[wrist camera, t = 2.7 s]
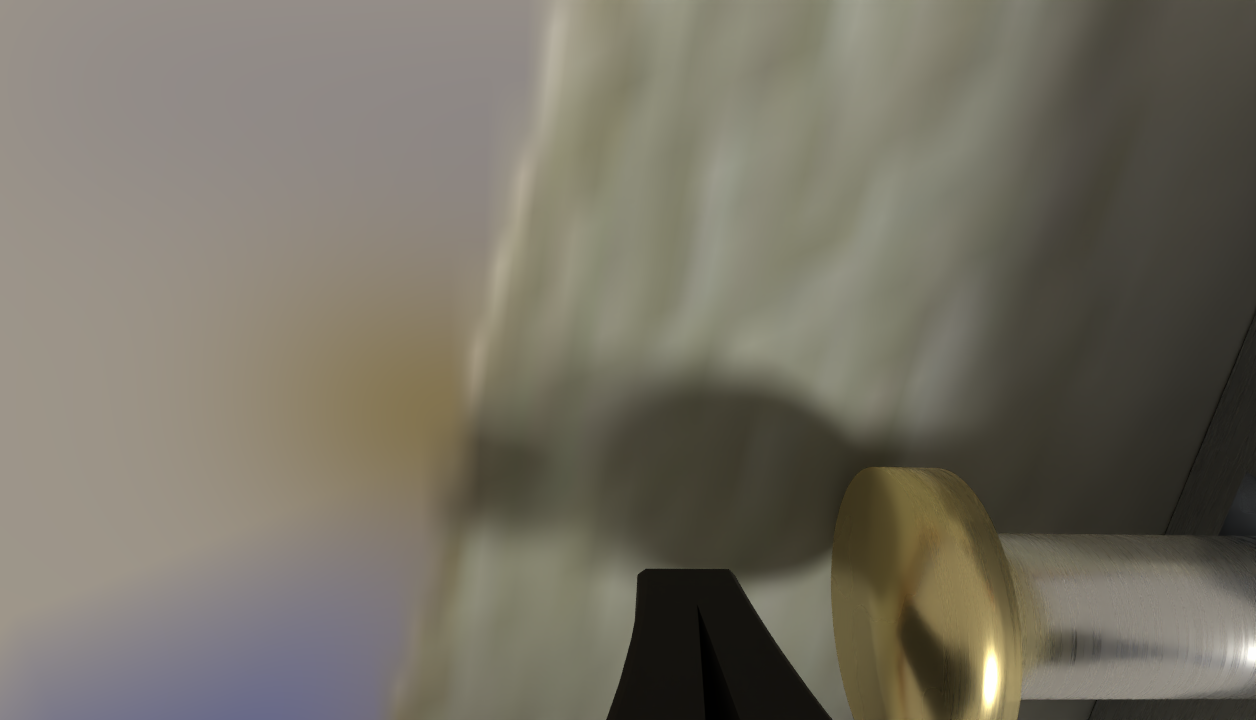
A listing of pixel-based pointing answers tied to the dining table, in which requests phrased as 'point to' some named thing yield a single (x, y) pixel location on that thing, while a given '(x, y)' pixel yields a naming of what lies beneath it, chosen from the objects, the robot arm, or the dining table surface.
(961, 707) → the gold headed rod
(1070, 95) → the dining table surface
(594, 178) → the dining table surface
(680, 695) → the robot arm
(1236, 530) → the bracket
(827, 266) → the dining table surface
